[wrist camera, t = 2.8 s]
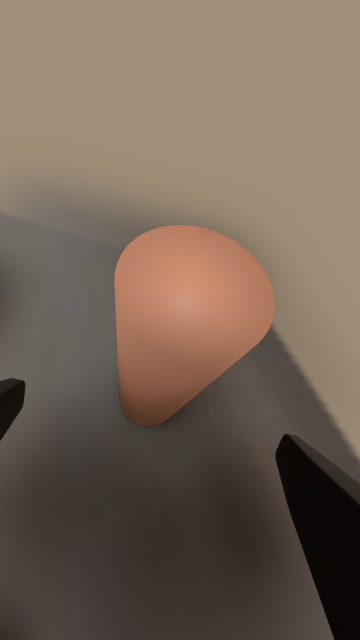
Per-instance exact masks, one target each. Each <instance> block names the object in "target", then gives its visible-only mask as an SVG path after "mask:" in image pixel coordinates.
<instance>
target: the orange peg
mask: <svg viewBox="0 0 360 640" xmlns="http://www.w3.org/2000/svg"><path fill="white" fill-rule="evenodd" d="M115 304H116V327H117V349H118V372H119V395H120V404H121V408H122V410H123V412H124V414H125V415H126V416H127V417H128V419H130V420H131V421H132V422H134V423H136V424H138V425H141V426H146V427H151V426H156V425H159V424H161V423H163V422H165V421H166V420H167V419H169V418H170V417H171V416H172V415H173V414H175V413H176V412H177V411H178V410H179V409H180V408H182V407H183V406H184V405H185V404H186V403H188V402H189V401H190V400H191V399H192V398H194V397H195V396H196V395H197V394H198V393H199V392H201V391H202V390H203V389H204V388H205V387H207V386H208V385H209V384H210V383H211V382H213V381H214V380H215V379H216V378H217V377H219V376H220V375H221V374H222V373H223V372H224V371H226V370H227V369H228V368H229V367H230V366H232V365H233V364H234V363H235V362H236V361H238V360H239V359H240V358H241V357H242V356H244V355H245V354H246V353H247V352H248V351H249V350H251V349H252V348H253V347H254V346H255V345H257V344H258V343H259V342H260V341H261V340H262V338H263V337H264V336H265V335H266V333H267V331H268V330H269V328H270V326H271V323H272V321H273V316H274V310H275V301H274V293H273V289H272V286H271V283H270V281H269V279H268V276H267V274H266V273H265V271H264V269H263V268H262V266H261V265H260V264H259V263H258V261H257V260H256V259H255V258H254V257H253V256H252V255H251V254H250V253H249V252H248V251H247V250H246V249H245V248H243V247H242V246H241V245H239V244H238V243H237V242H235V241H234V240H232V239H230V238H228V237H226V236H224V235H222V234H220V233H217V232H215V231H212V230H209V229H205V228H201V227H196V226H188V225H172V226H164V227H160V228H156V229H153V230H151V231H148V232H146V233H144V234H142V235H140V236H139V237H137V238H136V239H135V240H133V241H132V242H131V243H130V244H129V245H128V246H127V247H126V249H125V250H124V251H123V253H122V255H121V256H120V258H119V260H118V263H117V266H116V271H115Z"/></svg>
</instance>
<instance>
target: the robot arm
mask: <svg viewBox="0 0 360 640" xmlns="http://www.w3.org/2000/svg"><path fill="white" fill-rule="evenodd" d="M24 395H25V382H24V381H23V380H18V379H13V378H10V379H7V380H3V381H0V441H1V439H2V438H3V436H4V435H5V433H6V432H7V430H8V429H9V427H10V426H11V424H12V423H13V421H14V420H15V418H16V417H17V415H18V414H19V412H20V411H21V409H22V407H23V404H24ZM276 462H277V466H278V470H279V474H280V478H281V482H282V486H283V490H284V493H285V497H286V501H287V504H288V508H289V511H290V514H291V517H292V520H293V522H294V525H295V528H296V531H297V534H298V537H299V540H300V543H301V545H302V548H303V551H304V554H305V557H306V560H307V563H308V565H309V568H310V571H311V574H312V577H313V580H314V583H315V586H316V588H317V591H318V594H319V597H320V600H321V603H322V606H323V609H324V611H325V614H326V617H327V620H328V623H329V626H330V629H331V631H332V634H333V637H334V640H360V483H359V482H357V481H356V480H355V479H353V478H352V477H351V476H349V475H348V474H347V473H345V472H344V471H343V470H341V469H340V468H339V467H338V466H336V465H335V464H334V463H332V462H331V461H330V460H328V459H327V458H326V457H324V456H323V455H322V454H320V453H319V452H318V451H316V450H315V449H314V448H312V447H311V446H310V445H308V444H307V443H306V442H304V441H303V440H302V439H300V438H299V437H298V436H296V435H291V434H284V435H283V437H282V439H281V441H280V444H279V446H278V448H277V450H276Z"/></svg>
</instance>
